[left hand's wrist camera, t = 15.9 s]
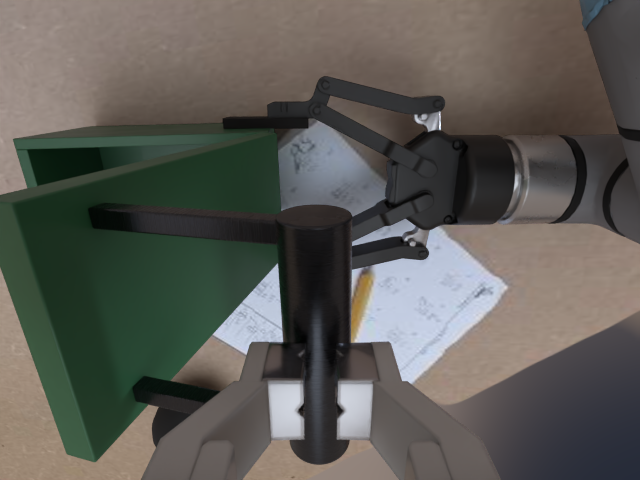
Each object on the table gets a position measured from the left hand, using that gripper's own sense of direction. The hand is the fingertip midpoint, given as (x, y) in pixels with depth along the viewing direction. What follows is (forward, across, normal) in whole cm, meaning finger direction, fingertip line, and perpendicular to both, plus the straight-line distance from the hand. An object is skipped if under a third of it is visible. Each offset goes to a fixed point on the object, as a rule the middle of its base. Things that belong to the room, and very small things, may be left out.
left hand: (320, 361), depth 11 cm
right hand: (+23, +7, 0) cm, 24 cm away
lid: (+9, +6, 0) cm, 11 cm away
